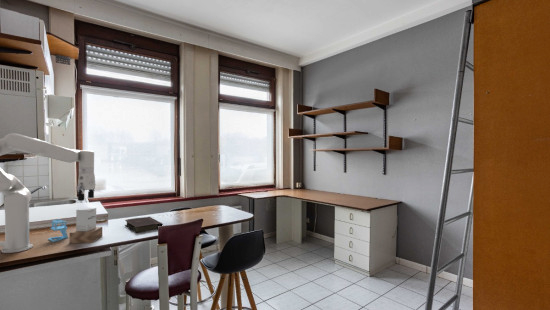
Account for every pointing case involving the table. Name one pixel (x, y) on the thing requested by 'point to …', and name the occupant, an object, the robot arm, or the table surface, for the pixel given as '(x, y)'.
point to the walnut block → (85, 236)
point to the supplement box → (85, 219)
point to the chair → (61, 228)
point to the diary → (142, 224)
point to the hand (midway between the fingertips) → (86, 199)
